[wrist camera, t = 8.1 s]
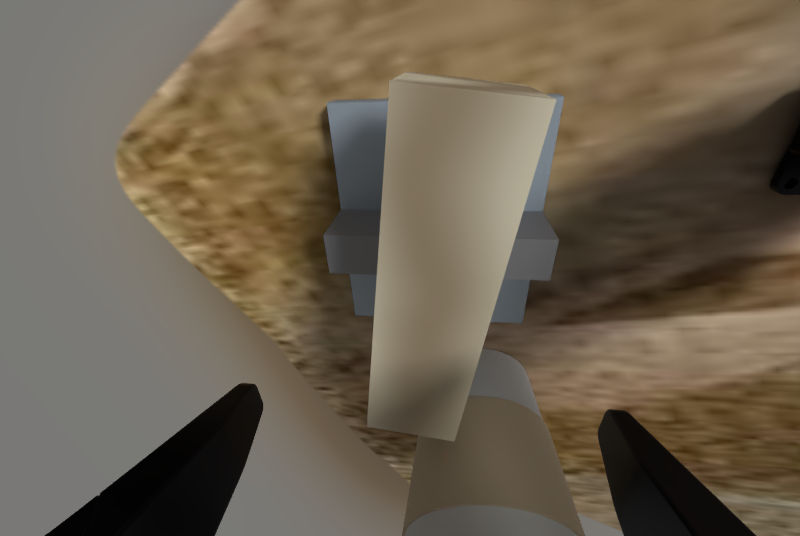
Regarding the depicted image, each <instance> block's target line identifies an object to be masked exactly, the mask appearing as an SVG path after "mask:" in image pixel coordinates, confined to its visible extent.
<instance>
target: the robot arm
mask: <svg viewBox="0 0 800 536" xmlns="http://www.w3.org/2000/svg"><path fill="white" fill-rule="evenodd" d="M790 178H791V180H790V182H789V183H788V184H786V185H784V183H785V182H786V181H787V180H789V179H790ZM770 187H771V189H772V190H773V191H775V192H778V193H780V194H784V195H800V126H799V128H798V130H797V132H796V134H795V136H794V138H793V140H792V141H791V143H790V145H789V147H788V149H787V151H786V153H785V155H784V157H783V159H782V161H781V163H780V164H779V166H778V168H777V170H776V172H775V174H774V176H773V178H772V180H771V183H770ZM262 411H263V402H262V399H261V396H260V394H259V391H258V388H257V386H256V385H255V384H247V383H241V384H239V385H237V386H236V387H234V389H232V390H231V391H229V392H228V393H227V394H226V395H224V396H223V397H222V398H220V399H219V400H218V401H217V402H216V403H214V404H213V405H212V406H210V407H209V408H208V409H206V410H205V411H204V412H203V413H201V414H200V415H199V416H198V417H196V418H195V419H194V420H193V421H191V422H190V423H189V424H187V425H186V426H185V427H184V428H182V429H181V430H180V431H179V432H177V433H176V434H175V435H174V436H172V437H171V438H170V439H168V440H167V441H166V442H165V443H163V444H162V445H161V446H159V447H158V448H157V449H156V450H154V451H153V452H152V453H151V454H149V455H148V456H147V457H146V458H144V459H143V460H142V461H140V462H139V463H138V464H137V465H136V466H134V467H133V468H132V469H130V470H129V471H128V472H126V473H125V474H124V475H123V476H121V477H120V478H119V479H118V480H116V481H115V482H114V483H113V484H111V485H110V486H109V487H107V488H106V489H105V490H104V491H102V492H101V493H100V496H96V497H95V498H93V499H92V500H91V501H89V502H88V503H87V504H86V505H84V506H83V507H82V508H81V509H79V510H78V511H77V512H75V513H74V514H73V515H71V516H70V517H69V518H67V519H66V520H65V521H64V522H62V523H61V524H60V525H58V526H57V527H56V528H54V529H53V530H52V531H51V532H49V533H48V534H46V535H45V536H215V534H216V532H217V529H218V527H219V525H220V522H221V520H222V518H223V515H224V513H225V511H226V508H227V506H228V504H229V502H230V499H231V497H232V495H233V493H234V490H235V488H236V486H237V483H238V481H239V479H240V476H241V474H242V472H243V469H244V467H245V464H246V461H247V458H248V454H249V452H250V449H251V446H252V443H253V440H254V436H255V433H256V430H257V427H258V424H259V421H260V418H261V415H262ZM598 440H599V444H600V448H601V453H602V457H603V461H604V466H605V470H606V474H607V479H608V483H609V487H610V492H611V496H612V500H613V504H614V507H615V510H616V514H617V517H618V520H619V523H620V526H621V529H622V531H623V534H624V536H756V535H755V534H754V533H753V532H752V531H751V530H750V529H749V528H748V527H747V526H746V525H745V524H744V523H743V522H742V521H741V520H740V519H738V518H737V517H736V516H735V515H734V514H733V513H732V512H731V511H730V510H729V509H728V508H727V507H726V506H725V505H724V504H723V503H722V502H721V501H720V500H719V499H718V498H717V497H716V496H715V495H714V494H713V493H712V492H710V491H709V490H708V489H707V488H706V487H705V486H704V485H703V484H702V483H701V482H700V481H699V480H698V479H697V478H696V477H695V476H694V475H693V474H692V473H691V472H690V471H689V470H688V469H687V468H686V467H685V466H683V465H682V464H681V463H680V462H679V461H678V460H677V459H676V458H675V457H674V456H673V455H672V454H671V453H670V452H669V451H668V450H667V449H666V448H665V447H664V446H663V445H662V444H661V443H660V442H659V441H658V440H657V439H655V438H654V437H653V436H652V435H651V434H650V433H649V432H648V431H647V430H646V429H645V428H644V427H643V426H642V425H641V424H640V423H639V422H638V421H637V420H636V419H635V418H634V417H633V416H632V415H631V414H629V413H628V412H626V411H624V410H613V409H609V410H607V411H606V412H605V415H604V417H603V419H602V422H601V424H600V427H599V429H598Z"/></svg>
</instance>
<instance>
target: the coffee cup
mask: <svg viewBox="0 0 800 536" xmlns="http://www.w3.org/2000/svg"><path fill="white" fill-rule="evenodd" d="M402 536H585V534H584V531H583V528H582V526H581V523H580V520H579V517H578V514H577V511H576V508H575V505H574V502H573V499H572V496H571V493H570V490H569V488H568V485H567V482H566V479H565V476H564V473H563V470H562V467H561V464H560V461H559V458H558V456H557V453H556V450H555V447H554V444H553V441H552V438H551V435H550V432H549V429H548V427H547V425H546V423H545V422H544V421H543V419H542V417H541V414H540V411H539V408H538V405H537V402H536V399H535V396H534V393H533V390H532V387H531V384H530V381H529V378H528V375H527V372H526V370H525V369H524V367H523V366H522V365H521V364H520V363H519V362H518V361H517V360H516V359H514V358H513V357H511V356H509V355H507V354H505V353H502V352H499V351H496V350H491V349H484V348H482V351H481V355H480V358H479V361H478V365H477V368H476V371H475V375H474V378H473V381H472V385H471V388H470V391H469V395H468V398H467V402H466V405H465V408H464V412H463V415H462V418H461V422H460V425H459V428H458V432H457V435H456V438H455V442H454V441H448V440H442V439H436V438H430V437H424V436H418V440H417V446H416V452H415V458H414V464H413V471H412V477H411V483H410V489H409V496H408V501H407V508H406V514H405V521H404V527H403V532H402Z"/></svg>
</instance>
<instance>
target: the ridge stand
mask: <svg viewBox="0 0 800 536" xmlns="http://www.w3.org/2000/svg"><path fill="white" fill-rule="evenodd" d="M546 95H548V96H550V97H552V98H554V99H557V100H556V104H555V107H554V110H553V114H552V117H551V120H550V124H549V127H548V130H547V134H546V137H545V140H544V144H543V147H542V150H541V154H540V157H539V160H538V164H537V167H536V171H535V174H534V177H533V181H532V184H531V187H530V191H529V194H528V197H527V201H526V204H525V207H524V211H523V214H522V217H521V221H520V224H519V227H518V231H517V234H516V237H515V241H514V244H513V248H512V251H511V254H510V258H509V261H508V264H507V268H506V271H505V274H504V278H503V281H502V284H501V288H500V291H499V294H498V298H497V301H496V304H495V308H494V311H493V314H492V318H491V321H490V322H503V323H522V322H523V317H524V311H525V306H526V300H527V295H528V290H529V284H530V280H546V281H550V279H551V274H552V270H553V265H554V261H555V256H556V252H557V247H558V243H559V239H558V237H557V235H556V234H555V232H554V230H553V228H552V227H551V225H550V223H549V221H548V219H547V218H546V216H545V214H544V212H543V208H544V203H545V198H546V192H547V187H548V181H549V176H550V171H551V165H552V160H553V154H554V149H555V143H556V138H557V133H558V127H559V122H560V116H561V111H562V106H563V100H564V96H562V95H560V94H546ZM327 110H328V117H329V125H330V132H331V140H332V147H333V154H334V162H335V169H336V177H337V184H338V191H339V199H340V206H341V210H340V211H339V213H338V214H337V216H336V217H335V219H334V220H333V222H332V223H331V225H330V226H329V227H328V229H327V230H326V232H325V233H324V235H323V237H324V243H325V249H326V255H327V261H328V267H329V272H330V273H337V274H350V280H351V288H352V295H353V303H354V310H355V315H358V316H374V310H375V295H376V280H377V265H378V250H379V234H380V219H381V204H382V189H383V174H384V159H385V144H386V128H387V113H388V99H362V100H333V101H330V102H328V103H327Z"/></svg>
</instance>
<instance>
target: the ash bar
mask: <svg viewBox="0 0 800 536" xmlns="http://www.w3.org/2000/svg"><path fill="white" fill-rule="evenodd" d="M556 100H557V99H554V98H552V97H550V96H548V95H546V94H544V93H542V92H540V91H538V90H536V89H534V88H532V87H529V86H527V85H522V84H513V83H504V82H495V81H486V80H477V79H468V78H459V77H450V76H441V75H432V74H424V73H415V72H405V73H403V74H401V75H400V76H398V77H396V78H394V79H392V80H390V83H389V98H388V113H387V128H386V144H385V159H384V174H383V189H382V204H381V219H380V234H379V250H378V265H377V280H376V295H375V310H374V325H373V340H372V356H371V371H370V386H369V401H368V416H367V427H371V428H377V429H383V430H389V431H395V432H400V433H406V434H412V435H418V436H424V437H430V438H436V439H442V440H448V441H454V442H455V438H456V435H457V432H458V428H459V425H460V422H461V418H462V415H463V412H464V408H465V405H466V402H467V398H468V395H469V391H470V388H471V385H472V381H473V378H474V375H475V371H476V368H477V365H478V361H479V358H480V355H481V351H482V348H483V345H484V341H485V338H486V335H487V331H488V328H489V325H490V321H491V318H492V314H493V311H494V308H495V304H496V301H497V298H498V294H499V291H500V288H501V284H502V281H503V278H504V274H505V271H506V268H507V264H508V261H509V258H510V254H511V251H512V248H513V244H514V241H515V237H516V234H517V231H518V227H519V224H520V221H521V217H522V214H523V211H524V207H525V204H526V201H527V197H528V194H529V191H530V187H531V184H532V181H533V177H534V174H535V171H536V167H537V164H538V160H539V157H540V154H541V150H542V147H543V144H544V140H545V137H546V134H547V130H548V127H549V124H550V120H551V117H552V114H553V110H554V107H555V104H556Z"/></svg>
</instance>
